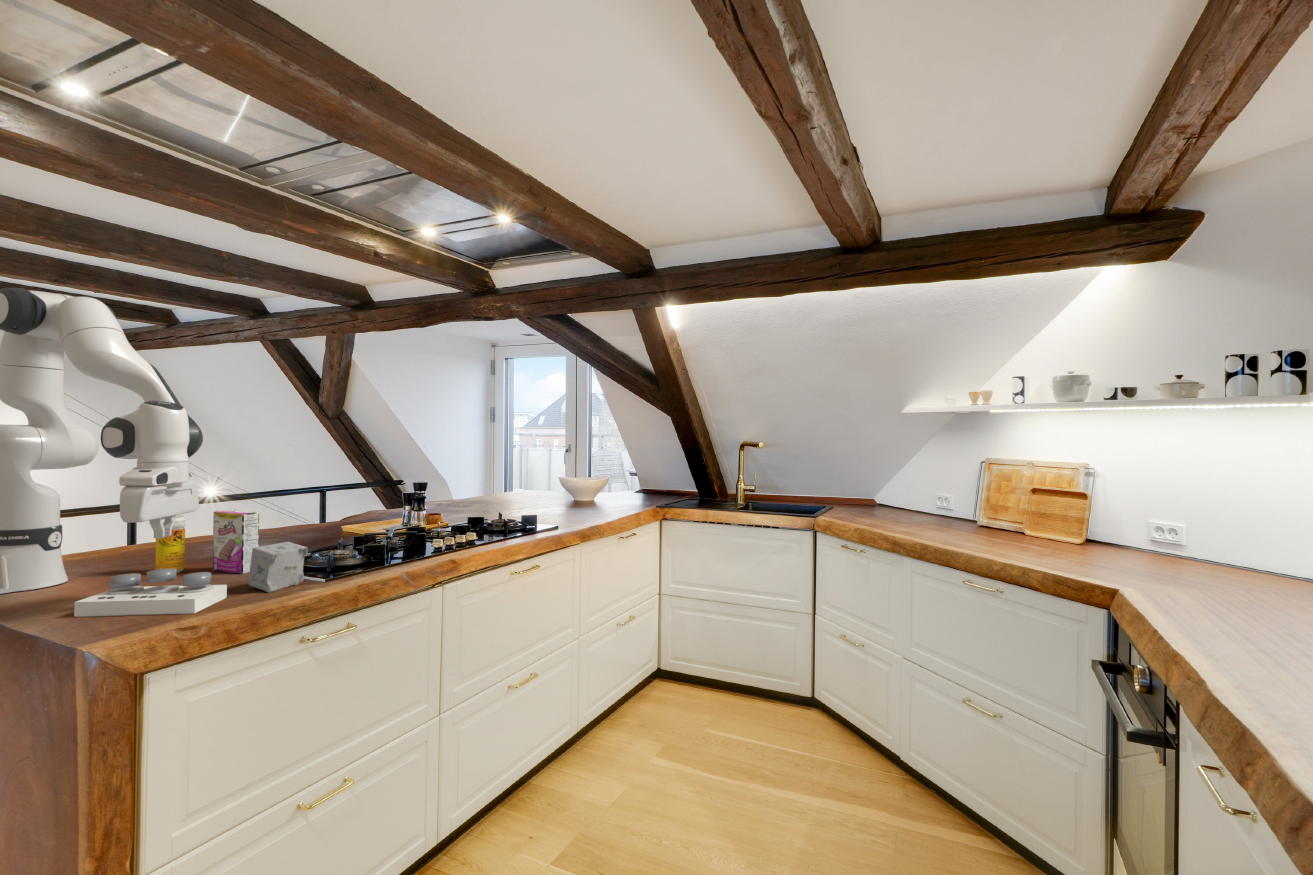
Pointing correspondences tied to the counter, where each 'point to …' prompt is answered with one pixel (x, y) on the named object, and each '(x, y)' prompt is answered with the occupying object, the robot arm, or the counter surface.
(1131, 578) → the counter surface
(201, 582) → the button one
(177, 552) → the beer can
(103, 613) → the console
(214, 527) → the candy bar box
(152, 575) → the button three
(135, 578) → the button two
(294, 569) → the grey stone block
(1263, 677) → the counter surface
